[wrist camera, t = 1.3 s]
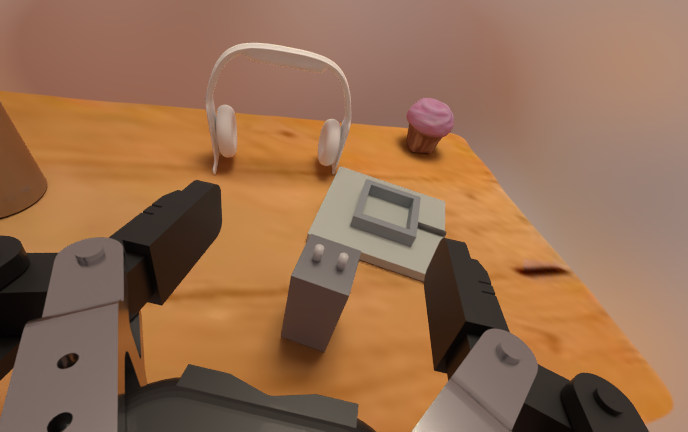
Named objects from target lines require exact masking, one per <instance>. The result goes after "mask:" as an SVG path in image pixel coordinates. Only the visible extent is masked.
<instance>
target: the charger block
mask: <svg viewBox="0 0 688 432" xmlns="http://www.w3.org/2000/svg"><path fill="white" fill-rule="evenodd" d="M360 255H361V251H360V250H357V249H354V248H351V247H349V246H346V245H343V244H340V243H337V242H334V241H331V240H328V239H325V238H322V237H320V236H317V235H314V234H310V237H309V239H308V241H307V243H306V245H305V247H304V249H303V251H302V254H301V256H300V258H299V260H298V262H297V264H296V266H295V269H294V271H293V273H292V275H291V280H290V286H289V292H288V298H287V303H286V309H285V315H284V321H283V327H282V333H281V337H283V338H286V339H288V340H291V341H294V342H297V343H300V344H302V345H305V346H308V347H311V348H314V349H316V350H319V351H322V352H325V350H326V347H327V345H328V343H329V341H330V338H331V336H332V334H333V331H334V329H335V327H336V325H337V322H338V320H339V318H340V315H341V313H342V311H343V309H344V306H345V304H346V302H347V300H348V297H349V294H350V291H351V287H352V284H353V280H354V276H355V273H356V269H357V266H358V262H359V259H360Z"/></svg>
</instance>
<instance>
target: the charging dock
mask: <svg viewBox="0 0 688 432" xmlns="http://www.w3.org/2000/svg"><path fill="white" fill-rule="evenodd" d="M310 234H314V235H317V236H320V237H322V238H325V239H328V240H331V241H334V242H337V243H340V244H343V245H346V246H349V247H351V248H354V249H357V250H360V251H361V255H360V259H359V260H362V261H365V262H368V263H371V264H374V265H377V266H379V267H382V268H385V269H388V270H391V271H394V272H397V273H400V274H403V275H406V276H408V277H411V278H414V279H417V280H420V281H423V282H424V278H425V274H426V270H427V268H428V266H429V264H430V261H431V259H432V257H433V255H434V253H435V251H436V248H437V246H438V244H439V242H440V240H441V239H442V238H445V235H446V231H445V201H442V200H439V199H436V198H433V197H430V196H427V195H424V194H421V193H418V192H415V191H412V190H409V189H406V188H403V187H400V186H397V185H394V184H391V183H388V182H385V181H382V180H379V179H376V178H373V177H371V176H368V175H365V174H362V173H359V172H356V171H353V170H350V169H347V168H344V167H341V166H340V167H339V169H338V171H337V174H336V176H335V178H334V180H333V182H332V184H331V186H330V188H329V190H328V192H327V195H326V197H325V199H324V201H323V203H322V205H321V207H320V209H319V211H318V213H317V215H316V218H315V220H314V222H313V224H312V226H311V228H310V230H309V232H308V235H307V240H306V241H308V239H309V237H310Z"/></svg>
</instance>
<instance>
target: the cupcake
mask: <svg viewBox="0 0 688 432" xmlns="http://www.w3.org/2000/svg"><path fill="white" fill-rule="evenodd" d="M407 120H408V122H409V129H408V134H407V143H408V147H409V149H410V150H411V151H412V152H419V153H427V154H429V153H432V152H433V150H434V149H435V147H436V145H437V144H438V142H439V141H440V140H441V138H442V137H444V136H446V135H448V133H450V132H451V130H452V128H453V123H454V117H453V113H452V112H451V110H450V108H449V107H448V106H447V105H446V104H445V103H442V102H440V101H438V100H436V99H432V98H422V99H420V100H419V101H418V102H416V103H415V104H414V105H413V106H412V107H411V108H410V109H409V110H408V112H407Z"/></svg>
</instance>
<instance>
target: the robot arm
mask: <svg viewBox="0 0 688 432" xmlns="http://www.w3.org/2000/svg"><path fill="white" fill-rule="evenodd" d="M46 188H47V181H46V179H45V177H44V175H43V174H42V172H41V170H40V169H39V167H38V165H37V163H36V162H35V160H34V158H33V157H32V155H31V153H30V151H29V150H28V148H27V146H26V145H25V143H24V141H23V139H22V138H21V136H20V134H19V133H18V131H17V129H16V128H15V126H14V124H13V123H12V121H11V119H10V117H9V116H8V114H7V112H6V111H5V109H4V107H3V106H2V104H1V102H0V218H1V217H5V216H8V215H11V214H14V213H16V212H19V211H21V210H23V209H25V208H27V207H29V206H30V205H32V204H33V203H35V202H36V201H37V200H38V199H39V198H40V197H41V196H42V195H43V194H44V192H45V191H46ZM221 225H222V209H221V190H220V187H219V185H216V184H212V183H208V182H203V181H199V180H195V181H193V182H192V183H191V184H190V185H188V186H187V187H186V188H185V189H184V190H182V191H180V190H177V191H174V192H172V193H169V194H167V195H164V196H162V197H161V198H160V199H158V200H157V201H156V202H154V203H153V204H152V206H149V207H148V208H147V209H145V210H144V211H143V213H140V214H139V215H138V216H136V217H135V218H134V219H132V220H131V221H130V222H128V223H127V224H126V225H125V226H123V227H122V228H121V229H119V230H118V231H117V232H116V233H114V234H113V235H112V236H110V237H109V238H104V237H97V238H90V239H85V240H81V241H78V242H75V243H73V244H71V245H69V246H67V247H66V248H64V249H63V250H61V251H60V252H59V253H26V252H25V250H24V248H23V246H22V244H21V242H20V241H19V240H18V239H16V238H14V237H10V236H0V380H1V379H2V378H3V377H4V376H5V375H6V374H7V373H8V372H10V371H11V370H12V369H13V372H12V376H11V380H10V384H9V388H8V391H7V395H6V399H5V403H4V407H3V411H2V414H1V418H0V432H376V431H375V430H374V429H373V428H371V427H370V426H369V425H367V424H366V423H365V422H363V421H361V420H360V419H358V418H357V415H358V404H356V403H351V402H347V401H343V400H339V399H334V398H330V397H326V396H322V395H317V394H311V395H287V396H270V395H267V394H265V393H263V392H261V391H259V390H258V389H256V388H254V387H252V386H251V385H249V384H247V383H245V382H244V381H242V380H240V379H238V378H237V377H235V376H233V375H231V374H228V373H224V372H220V371H216V370H212V369H207V368H203V367H199V366H195V365H190V364H188V366H187V368H186V369H185V371H184V373H183V374H182V376H181V377H179V378H171V379H165V380H161V381H157V382H153V383H150V384H147V379H146V373H145V364H144V347H143V330H142V315H141V311H140V310H141V308H142V307H143V306H144V305H145V304H146V303H147V302H149V303H154V304H158V305H163V304H164V302H165V301H166V300H167V299H168V297H169V296H170V295H171V294H172V292H173V291H174V290H175V289H176V287H177V286H178V285H179V284H180V282H181V281H182V280H183V279H184V277H185V276H186V275H187V274H188V273H189V271H190V270H191V269H192V268H193V266H194V265H195V264H196V263H197V261H198V260H199V259H200V258H201V256H202V255H203V254H204V253H205V251H206V250H207V249H208V248H209V246H210V245H211V244H212V243H213V241H214V240H215V239H216V238H217V236H218V234H219V232H220V229H221ZM424 290H425V298H426V307H427V315H428V323H429V332H430V340H431V348H432V356H433V365H434V371H438V372H442V373H447V375H448V382H447V384H446V385H445V386H444V388H443V389H442V391H441V392H440V393H439V395H438V396H437V397H436V399H435V400H434V402H433V403H432V404H431V406H430V407H429V408H428V410H427V411H426V412H425V414H424V415H423V417H422V418H421V419H420V421H419V422H418V423H417V425H416V426H415V428H414V429H413V430H412V432H649V431H648V429H647V427H646V426H645V424H644V422H643V420H642V419H641V417H640V415H639V413H638V412H637V410H636V409H635V407H634V405H633V404H632V403H631V402H630V400H629V399H628V398H627V397H626V396H625V395H624V394H623V393H622V392H621V391H620V390H619V389H618V388H616V387H615V386H614V385H612V384H611V383H610V382H608V381H606V380H605V379H603V378H601V377H599V376H597V375H594V374H590V373H580V374H578V375H576V376H575V377H574V378H573V379H572V380H571V381H570V380H568V379H566V378H564V377H562V376H560V375H558V374H556V373H554V372H552V371H550V370H548V369H546V368H544V367H542V366H540V365H539V364H537V361H536V358H535V356H534V354H533V353H532V351H531V350H530V348H529V347H528V346H527V345H526V344H525V343H524V342H523V341H522V340H520V339H519V338H518V337H516V336H515V335H513V334H511V333H510V332H509V329H508V326H507V324H506V321H505V318H504V316H503V313H502V311H501V308H500V305H499V303H498V300H497V297H496V296H495V292H494V289H493V287H492V286H491V281H490V279H489V276H488V273H487V271H486V270H485V269H484V268H483V266H482V265H481V264H480V263H479V262H478V260H475V259H471V257H470V254H469V251H468V248H467V245H466V243H464V242H460V241H456V240H452V239H447V238H442V239H441V240H440V242H439V244H438V246H437V248H436V251H435V253H434V255H433V257H432V259H431V261H430V264H429V266H428V268H427V270H426V274H425V278H424Z"/></svg>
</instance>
